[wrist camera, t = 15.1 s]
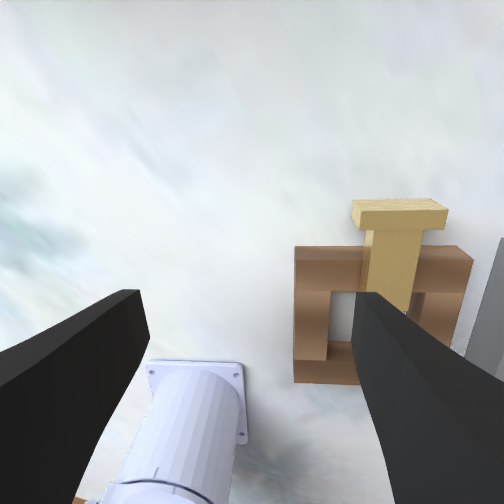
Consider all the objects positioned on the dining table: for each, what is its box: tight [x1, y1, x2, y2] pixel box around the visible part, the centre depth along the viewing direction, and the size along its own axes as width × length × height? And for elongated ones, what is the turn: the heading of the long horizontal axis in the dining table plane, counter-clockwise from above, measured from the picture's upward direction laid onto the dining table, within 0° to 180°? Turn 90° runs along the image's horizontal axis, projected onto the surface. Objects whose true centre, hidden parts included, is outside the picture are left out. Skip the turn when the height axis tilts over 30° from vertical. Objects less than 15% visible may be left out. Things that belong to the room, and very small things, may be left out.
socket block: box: [293, 246, 474, 385], centre depth 21 cm, size 10×10×2 cm
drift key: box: [351, 199, 448, 312], centre depth 17 cm, size 6×4×2 cm, turn 2°
